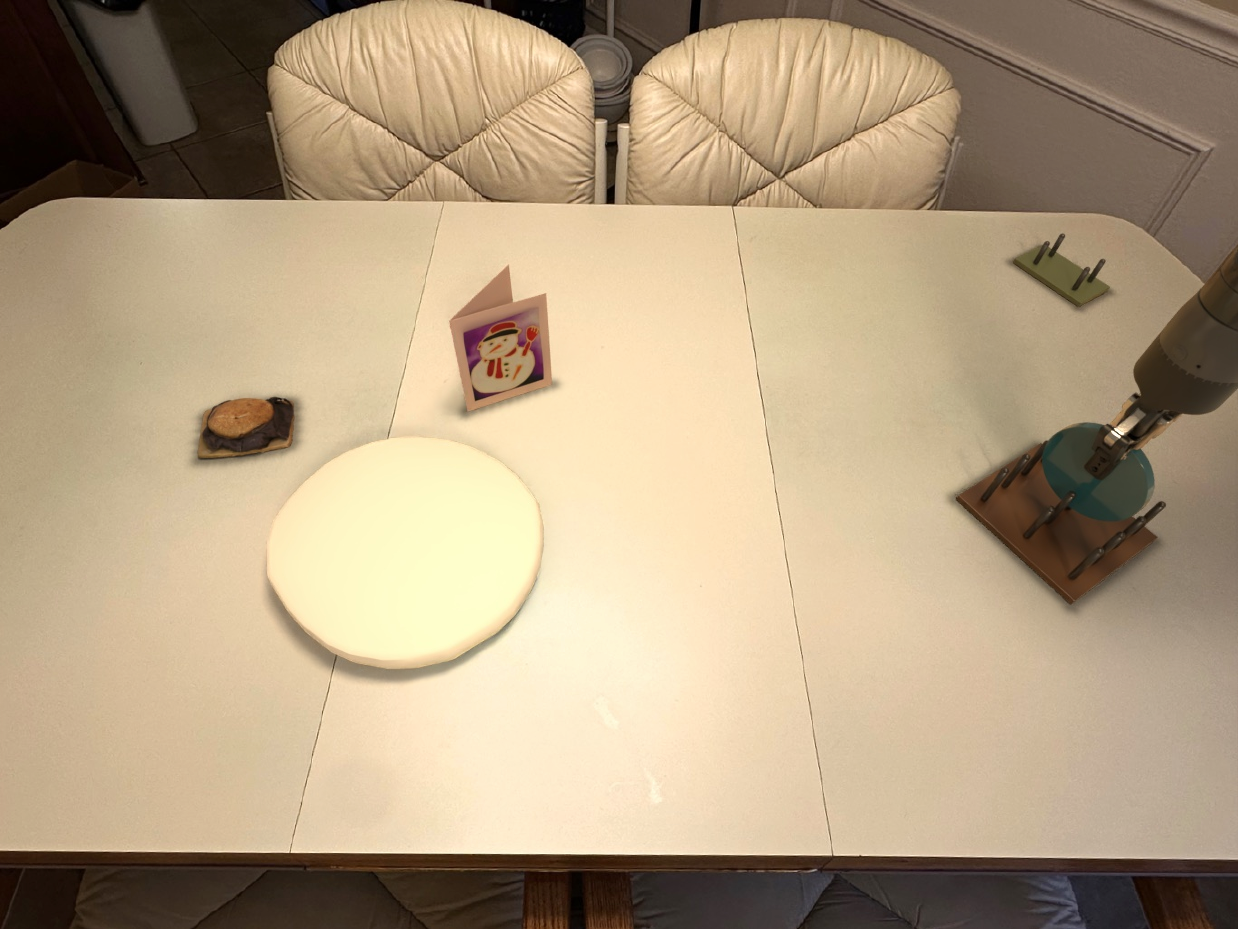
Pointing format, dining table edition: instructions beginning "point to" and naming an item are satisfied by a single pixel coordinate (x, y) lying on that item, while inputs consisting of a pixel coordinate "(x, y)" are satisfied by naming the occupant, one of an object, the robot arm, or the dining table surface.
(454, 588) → the plate
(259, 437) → the brown piece
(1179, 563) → the dining table surface
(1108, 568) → the dish rack
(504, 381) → the greeting card
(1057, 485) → the small plate
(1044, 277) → the drying stand
